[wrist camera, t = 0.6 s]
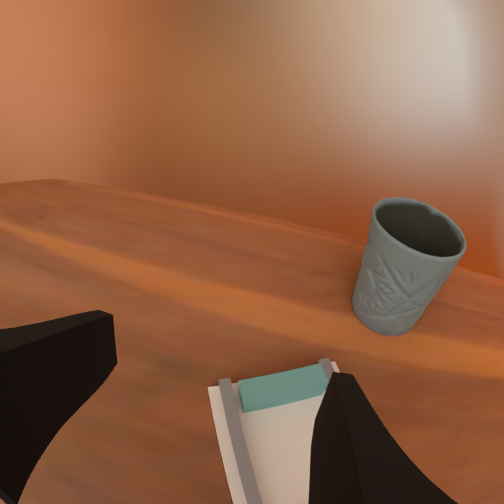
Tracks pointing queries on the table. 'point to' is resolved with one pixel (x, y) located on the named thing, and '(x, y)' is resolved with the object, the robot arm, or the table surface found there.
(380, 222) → the grey tapered pot
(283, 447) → the track
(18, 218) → the table surface
